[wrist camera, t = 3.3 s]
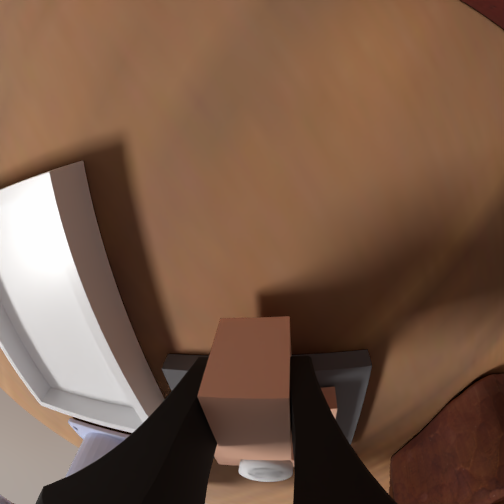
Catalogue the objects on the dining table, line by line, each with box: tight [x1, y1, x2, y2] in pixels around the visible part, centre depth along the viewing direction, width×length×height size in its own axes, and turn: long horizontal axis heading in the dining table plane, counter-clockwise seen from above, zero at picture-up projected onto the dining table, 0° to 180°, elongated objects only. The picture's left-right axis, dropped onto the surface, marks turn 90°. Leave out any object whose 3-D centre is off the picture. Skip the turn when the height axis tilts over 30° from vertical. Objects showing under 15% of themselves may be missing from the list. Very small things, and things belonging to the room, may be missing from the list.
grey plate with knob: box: [162, 349, 372, 482], centre depth 12 cm, size 9×9×4 cm
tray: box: [0, 161, 165, 433], centre depth 12 cm, size 14×10×2 cm
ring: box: [197, 316, 337, 467], centre depth 11 cm, size 10×6×4 cm, turn 6°
